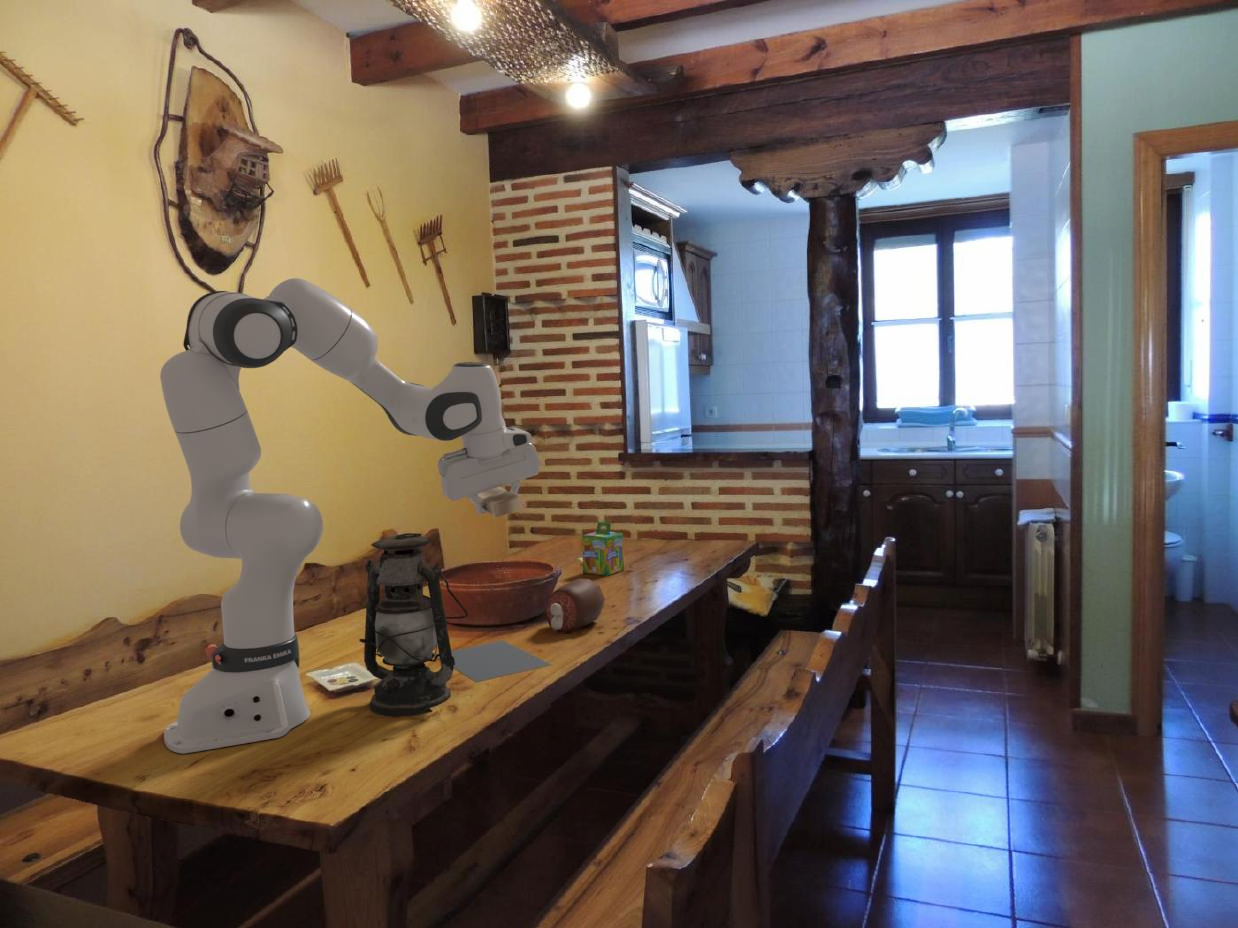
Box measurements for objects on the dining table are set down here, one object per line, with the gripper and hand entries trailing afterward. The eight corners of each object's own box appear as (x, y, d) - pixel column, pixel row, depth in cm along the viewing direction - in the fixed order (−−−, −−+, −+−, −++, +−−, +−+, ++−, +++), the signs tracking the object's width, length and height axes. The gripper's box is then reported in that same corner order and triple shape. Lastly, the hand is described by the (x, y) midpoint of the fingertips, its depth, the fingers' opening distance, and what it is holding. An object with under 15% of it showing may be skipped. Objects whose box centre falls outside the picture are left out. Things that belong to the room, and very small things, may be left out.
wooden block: (495, 505, 170) (470, 491, 180) (497, 517, 171) (472, 502, 180) (520, 497, 172) (494, 484, 182) (522, 508, 173) (496, 494, 183)
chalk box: (582, 573, 260) (580, 524, 259) (600, 567, 268) (598, 519, 267) (607, 576, 255) (605, 526, 254) (625, 570, 262) (623, 521, 261)
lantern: (340, 710, 153) (329, 540, 151) (405, 675, 171) (396, 523, 168) (432, 721, 146) (422, 543, 144) (489, 684, 164) (481, 525, 162)
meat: (578, 641, 191) (576, 595, 190) (532, 637, 196) (529, 592, 194) (616, 616, 209) (614, 574, 208) (573, 613, 214) (571, 572, 213)
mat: (476, 685, 164) (476, 682, 164) (432, 657, 182) (432, 654, 182) (551, 667, 172) (551, 664, 172) (503, 642, 191) (502, 640, 191)
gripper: (442, 459, 165) (455, 527, 169) (538, 432, 175) (548, 496, 179) (430, 453, 170) (443, 519, 174) (523, 426, 180) (534, 490, 184)
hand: (497, 507), depth 177 cm, fingers closed on wooden block, 5 cm apart
